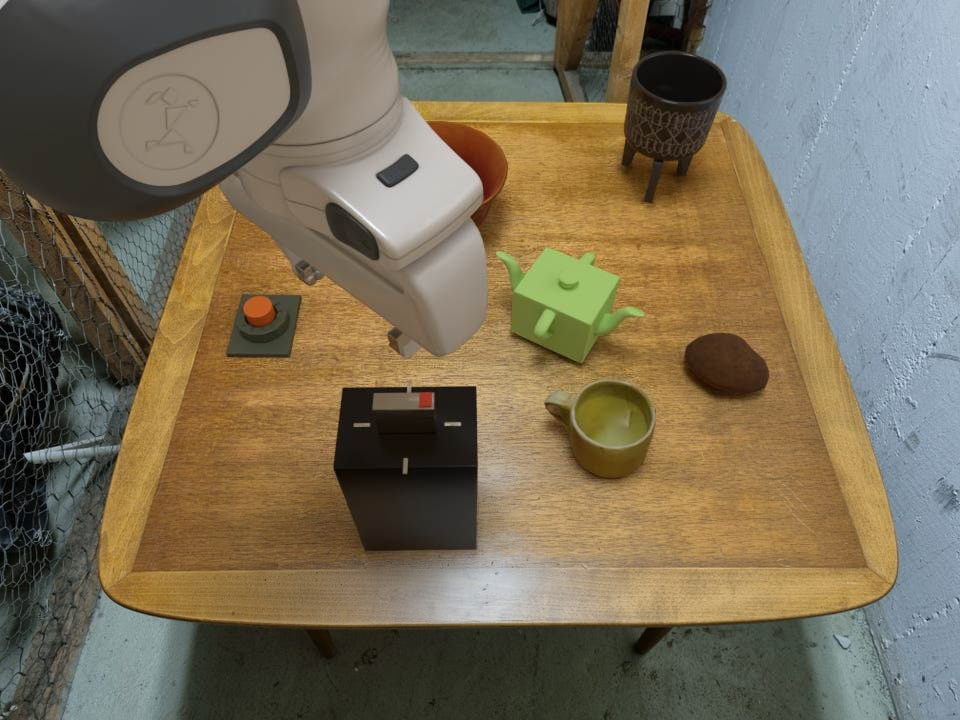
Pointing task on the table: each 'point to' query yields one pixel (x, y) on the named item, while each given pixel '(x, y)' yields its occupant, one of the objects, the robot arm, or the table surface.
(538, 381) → the table surface
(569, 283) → the teapot
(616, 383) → the mug
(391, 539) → the black lever box
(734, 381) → the potato
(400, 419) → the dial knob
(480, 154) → the bowl
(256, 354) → the housing
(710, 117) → the planter
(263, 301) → the button
